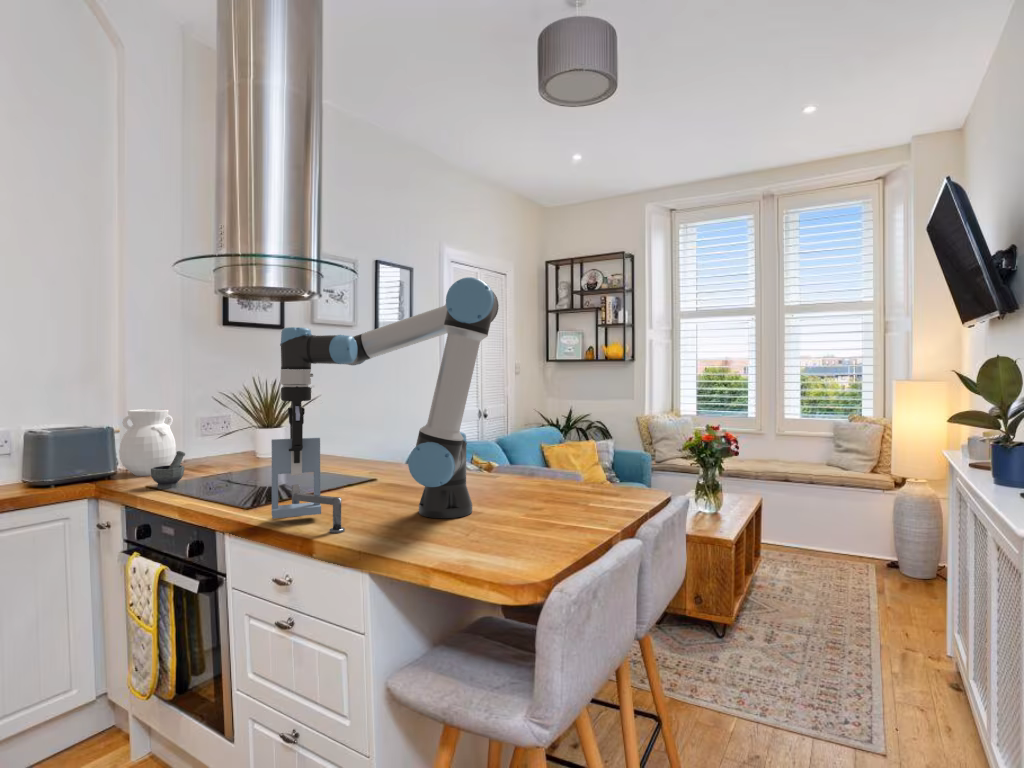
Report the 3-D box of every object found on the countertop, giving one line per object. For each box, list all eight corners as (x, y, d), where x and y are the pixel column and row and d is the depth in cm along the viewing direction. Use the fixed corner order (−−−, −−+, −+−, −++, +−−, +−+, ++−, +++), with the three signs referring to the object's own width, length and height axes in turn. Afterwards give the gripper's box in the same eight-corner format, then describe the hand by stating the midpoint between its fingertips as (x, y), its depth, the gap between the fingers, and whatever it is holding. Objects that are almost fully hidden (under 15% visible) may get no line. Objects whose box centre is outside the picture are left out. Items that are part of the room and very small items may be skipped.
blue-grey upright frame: (321, 514, 150) (321, 438, 150) (272, 518, 145) (271, 441, 145) (318, 509, 155) (318, 436, 155) (271, 513, 150) (271, 438, 150)
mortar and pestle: (164, 491, 188) (163, 455, 187) (144, 488, 191) (144, 453, 191) (194, 485, 198) (193, 450, 198) (175, 483, 201) (174, 449, 201)
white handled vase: (163, 468, 232) (163, 407, 232) (184, 473, 222) (184, 409, 221) (111, 474, 217) (110, 410, 217) (131, 480, 207) (131, 412, 206)
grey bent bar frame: (347, 531, 140) (347, 497, 140) (318, 537, 135) (318, 502, 135) (299, 512, 159) (299, 482, 159) (272, 517, 154) (272, 486, 154)
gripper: (313, 386, 145) (313, 478, 145) (308, 385, 158) (308, 469, 158) (282, 386, 141) (282, 480, 142) (279, 385, 155) (279, 471, 155)
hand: (296, 474), depth 150 cm, fingers closed on blue-grey upright frame, 1 cm apart
